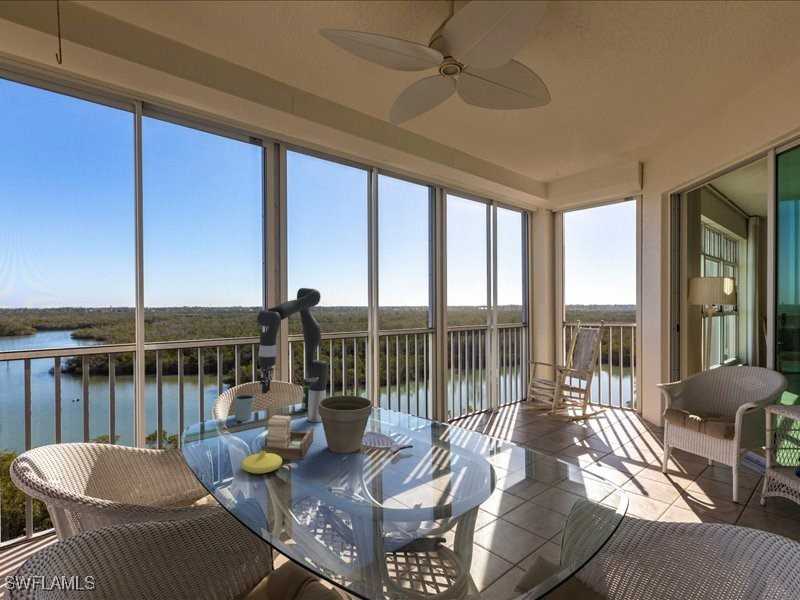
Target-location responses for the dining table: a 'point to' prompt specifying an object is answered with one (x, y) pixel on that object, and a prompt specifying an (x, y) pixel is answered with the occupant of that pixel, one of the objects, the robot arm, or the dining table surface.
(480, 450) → the dining table surface
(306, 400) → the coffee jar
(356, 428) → the plant pot
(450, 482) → the dining table surface
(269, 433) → the stacked wooden blocks
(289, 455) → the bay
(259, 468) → the yellow knobbed lid
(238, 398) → the light blue cup
